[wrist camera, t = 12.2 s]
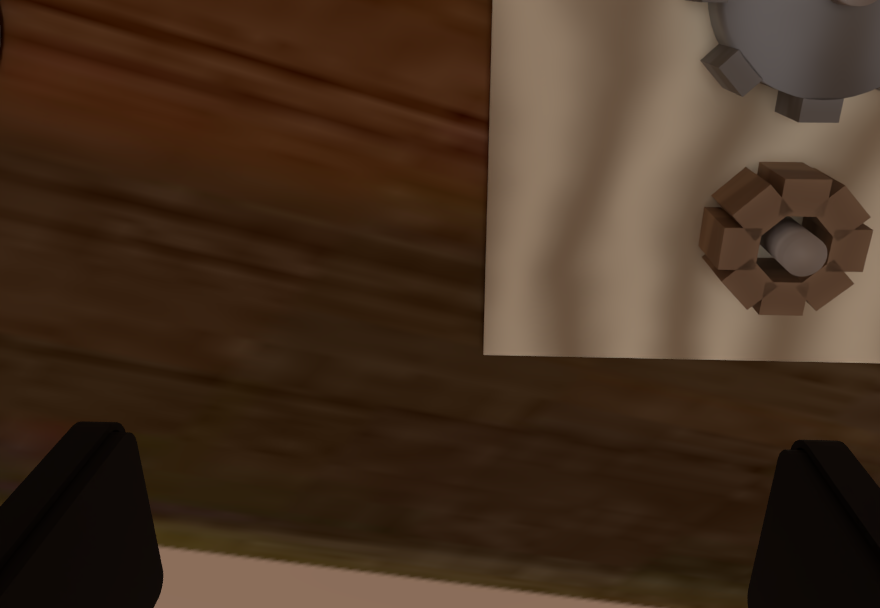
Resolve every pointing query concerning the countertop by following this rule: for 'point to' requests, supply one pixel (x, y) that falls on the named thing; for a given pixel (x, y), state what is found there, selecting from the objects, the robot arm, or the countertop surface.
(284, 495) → the countertop surface
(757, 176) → the walnut gear
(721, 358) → the gear board
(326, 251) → the countertop surface
